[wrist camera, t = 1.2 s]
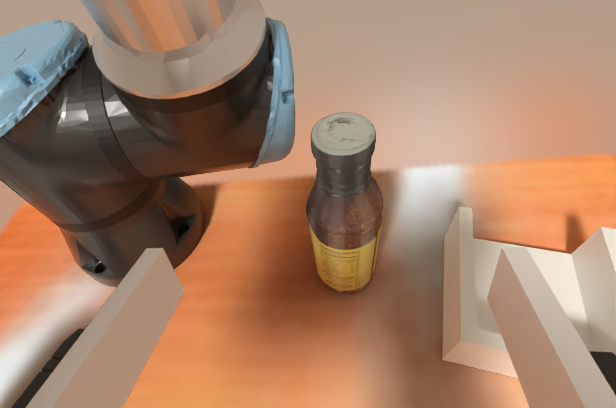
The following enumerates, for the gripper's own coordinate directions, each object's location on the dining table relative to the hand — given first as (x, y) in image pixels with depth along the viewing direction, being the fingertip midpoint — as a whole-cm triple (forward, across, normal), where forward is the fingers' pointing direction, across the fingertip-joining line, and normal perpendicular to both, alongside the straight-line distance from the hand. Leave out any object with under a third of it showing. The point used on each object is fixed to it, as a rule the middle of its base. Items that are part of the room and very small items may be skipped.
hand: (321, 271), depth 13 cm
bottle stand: (+14, +16, -19) cm, 28 cm away
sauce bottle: (+16, 0, -17) cm, 24 cm away
